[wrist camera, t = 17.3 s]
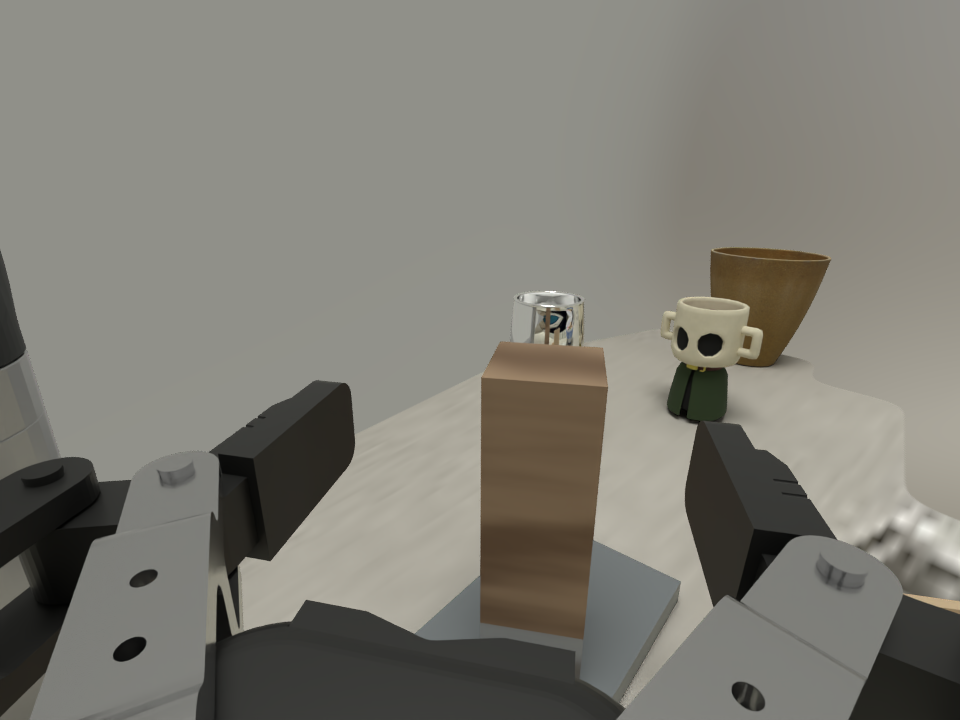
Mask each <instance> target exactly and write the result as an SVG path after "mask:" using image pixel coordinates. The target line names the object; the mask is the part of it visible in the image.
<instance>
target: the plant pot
mask: <svg viewBox="0 0 960 720" xmlns="http://www.w3.org/2000/svg"><path fill="white" fill-rule="evenodd" d="M830 260H831V258H830V257H828V256H825V255H820V254H815V253H808V252H800V251H792V250H781V249H780V250H779V249H766V248H739V247H733V248H732V247H730V248H716V249H712V250H711V267H710V272H711V274H710V276H711V297H714V298H723V299H729V300H734V301H739V302H741V303H744V304H747V305H748V306H749V307H750V310H749V317H748V322H747V326H748V327H753V328H758V329H760V330H762V331H763V339H762V344H761V349H760V354H759V356H758V358H757V359H748V358H744V357H740V359H739V360H738V362H737V364H741V365H747V366H758V367H763V366H770V365H772V364H774V363H775V361H776V360H777V359H778V357H779V356H780V354H781V353H782V352H783V350H784V349H785V347H786V346H787V344H788V343H789V341H790V340H791V338H792V337H793V335H794V334H795V332H796V330H797V329H798V327H799V325H800V324H801V322H802V320H803V318H804V316H805V315H806V313H807V311H808V309H809V307H810V305H811V303H812V301H813V299H814V297H815V295H816V293H817V291H818V289H819V286H820V284H821V282H822V279H823V277H824V275H825V273H826V270H827V268H828V265H829V263H830ZM751 342H752V337H751V336H746V335H745V337H744V343H743V348H745V349H750V347H751Z"/></svg>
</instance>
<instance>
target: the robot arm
mask: <svg viewBox="0 0 960 720" xmlns="http://www.w3.org/2000/svg"><path fill="white" fill-rule="evenodd" d="M354 448H355V436H354V423H353V411H352V400H351V391H350V388H349V386H348V385H347V384H346V383H338V382H328V381H319V380H316V381H314V382H312V383H311V384H309V385H308V386H307V387H305V388H304V389H303V390H301V391H300V392H299V393H297V394H296V395H295V396H293V397H292V398H290V399H287V400H285V401H282V402H280V403H277V404H275V405H273V406H271V407H270V408H268V409H267V410H266V411H264V412H263V413H262V414H260V415H259V416H258V419H257V418H255V419H253V420H252V421H251V422H249V423H248V424H247V425H246V427H243V428H241V429H240V430H239V431H237V432H236V433H235V434H233V435H232V436H231V437H229V438H227V439H226V440H225V441H223V442H222V443H221V444H219V445H218V446H217V447H215V448H214V449H212V450H211V451H210V452H203V451H188V452H180V453H176V454H171V455H168V456H165V457H162V458H159V459H157V460H155V461H152V462H151V463H149V464H147V465H145V466H144V467H142V468H141V469H140V470H139V471H137V472H136V473H135V475H134V476H133V478H132V480H123V481H108V482H98V480H97V477H96V473H95V470H94V467H93V464H92V462H91V461H89V460H88V459H85V458H79V457H66V458H61V456H60V453H59V450H58V447H57V443H56V440H55V437H54V434H53V431H52V428H51V425H50V421H49V418H48V415H47V412H46V409H45V406H44V402H43V399H42V396H41V393H40V389H39V386H38V383H37V380H36V377H35V374H34V370H33V367H32V364H31V361H30V358H29V355H28V351H27V350H26V346H25V343H24V340H23V337H22V334H21V330H20V327H19V324H18V320H17V316H16V312H15V308H14V303H13V298H12V293H11V289H10V284H9V280H8V276H7V272H6V268H5V264H4V261H3V258H2V254H1V251H0V720H960V614H958V613H955V612H952V611H949V610H946V609H943V608H940V607H937V606H934V605H931V604H928V603H925V602H922V601H920V600H917V599H914V598H912V597H909V596H907V595H904V594H903V590H902V586H901V584H900V582H899V580H898V579H897V577H896V576H895V575H894V574H893V573H892V571H891V570H890V569H889V568H888V567H886V566H885V565H884V564H883V563H882V562H880V561H879V560H878V559H876V558H875V557H873V556H872V555H870V554H868V553H867V552H865V551H863V550H861V549H859V548H857V547H855V546H852V545H850V544H848V543H845V542H842V541H839V540H837V539H836V537H835V536H834V534H833V533H832V531H831V530H830V528H829V527H828V525H827V524H826V522H825V521H824V519H823V518H822V516H821V515H820V513H819V512H818V511H817V509H816V508H815V506H814V505H813V503H812V502H811V500H810V499H807V494H806V493H805V491H804V490H803V488H802V487H801V485H798V481H797V480H796V478H795V477H794V475H793V474H792V472H791V471H790V469H789V468H788V466H787V465H786V464H784V463H783V462H781V461H780V460H779V459H777V458H776V457H775V456H773V455H772V454H771V453H769V452H768V451H767V450H758V449H755V448H754V447H753V445H752V443H751V442H750V440H749V438H748V437H747V435H746V433H745V432H744V430H743V428H742V427H741V425H739V424H730V423H720V422H711V421H700V423H699V424H698V427H697V430H696V435H695V440H694V445H693V450H692V456H691V461H690V466H689V471H688V476H687V481H686V488H685V507H686V513H687V517H688V520H689V524H690V527H691V531H692V534H693V538H694V541H695V545H696V548H697V552H698V555H699V558H700V562H701V565H702V569H703V572H704V576H705V579H706V583H707V586H708V590H709V593H710V597H711V600H712V604H713V607H714V608H713V609H712V610H711V611H710V612H709V614H708V615H707V616H706V617H705V618H704V619H703V620H702V622H701V623H700V624H699V625H698V626H697V627H696V629H695V630H694V631H693V632H692V633H691V634H690V635H689V637H688V638H687V639H686V640H685V641H684V642H683V643H682V645H681V646H680V647H679V648H678V649H677V650H676V652H675V653H674V654H673V655H672V656H671V657H670V658H669V660H668V661H667V662H666V663H665V664H664V665H663V666H662V668H661V669H660V670H659V671H658V672H657V673H656V675H655V676H654V677H653V678H652V679H651V680H650V681H649V683H648V684H647V685H646V686H645V687H644V688H643V689H642V691H641V692H640V693H639V694H638V695H637V696H636V698H635V699H634V700H633V701H632V702H631V703H630V704H629V706H628V707H627V708H626V709H625V708H624V707H623V706H622V705H620V704H619V703H618V702H616V701H615V700H614V699H612V698H611V697H610V696H608V695H607V694H606V693H604V692H602V691H601V690H599V689H597V688H596V687H594V686H592V685H591V684H589V683H587V682H585V681H583V680H581V679H579V678H577V677H575V651H571V650H566V649H561V648H556V647H550V646H545V645H540V644H535V643H529V642H524V641H519V640H514V639H508V638H483V639H458V640H428V639H424V638H422V637H420V636H417V635H415V634H413V633H411V632H409V631H407V630H405V629H403V628H401V627H399V626H396V625H394V624H392V623H390V622H388V621H386V620H384V619H382V618H380V617H378V616H376V615H373V614H371V613H369V612H367V611H362V610H356V609H351V608H346V607H341V606H336V605H330V604H325V603H320V602H315V601H309V600H306V601H305V602H304V604H303V605H302V607H301V608H300V610H299V611H298V613H297V614H296V616H295V617H294V619H293V620H292V622H282V623H275V624H268V625H264V626H260V627H256V628H252V629H249V630H247V631H244V625H243V602H242V578H241V572H240V567H239V564H240V563H241V561H242V560H243V559H244V558H245V557H250V558H256V559H261V560H267V561H271V560H272V559H273V557H274V556H275V555H276V554H277V553H278V551H279V550H280V549H281V548H282V546H283V545H284V544H285V543H286V542H287V540H288V539H289V538H290V537H291V535H292V534H293V533H294V532H295V531H296V529H297V528H298V527H299V526H300V525H301V523H302V522H303V521H304V520H305V518H306V517H307V516H308V515H309V514H310V512H311V511H312V510H313V509H314V507H315V506H316V505H317V504H318V503H319V501H320V500H321V499H322V498H323V497H324V495H325V494H326V493H327V492H328V490H329V489H330V488H331V487H332V486H333V484H334V483H335V482H336V481H337V480H338V478H339V477H340V476H341V475H342V473H343V472H344V471H345V470H346V469H347V467H348V466H349V464H350V462H351V460H352V457H353V454H354Z"/></svg>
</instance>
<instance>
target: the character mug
mask: <svg viewBox="0 0 960 720" xmlns="http://www.w3.org/2000/svg"><path fill="white" fill-rule="evenodd" d="M676 310H677V311H676V312H671V311H665V312H664V314H663V318H662V325H661V336H662V337H663V338H665V339H669V340H672V342H671V348H672V352H673V354H674V356H675V357H676V358H677V359H678V360H680V361H682V362H681V363H680V365H679V366H678V367H677V370H676V373H675V376H674V379H673V382H672V386H671V389H670V393H669V397H668V401H667V406H668V408H669V410H671V411H672V412H674V413H675V414H677V415H679V413H680V409H682V410H687V411H688V412H687V418H689V419H693V420H700V421H713V420H717V419H719V418H720V417H722V416H724V414H725V413H726V409H727V386H728V374H727V371H726V369H725V368H724V367H728V366H732V365H735V364H736V363H737V362H738V360H739V359H740V357H744V358H748V359H757V358H758V356H759V354H760V349H761V344H762V339H763V331H762V330H760V329H758V328H753V327H748V326H747V322H748V317H749V310H750V307H749V306H748V305H747V304H744V303H741V302H739V301H734V300H729V299H723V298H714V297H688V298H682V299H680V300H679V301H678V304H677V309H676ZM671 320H674V321H675V322H674V329H673V332H670V331H669V329H670V322H671ZM745 335H746V336H751V337H752V342H751V347H750V349H745V348H743V343H744V337H745Z"/></svg>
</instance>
